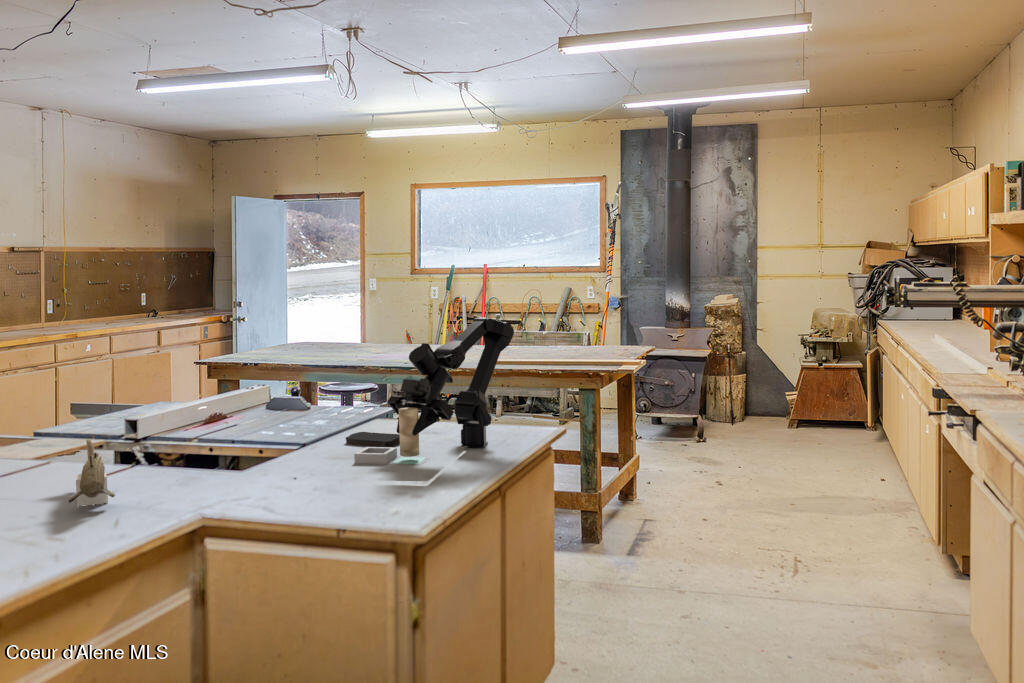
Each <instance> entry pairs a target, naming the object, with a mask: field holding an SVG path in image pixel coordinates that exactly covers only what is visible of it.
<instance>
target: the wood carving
mask: <svg viewBox="0 0 1024 683" xmlns="http://www.w3.org/2000/svg"><path fill="white" fill-rule="evenodd" d="M85 440H86V441H85V442H86V450H87V451H86V452H87V461H86V462H85V463H84V464H83V466H82V469H81V470H82V471H81V473H80V474H75V489H76V494H75V495H73V496H72V497H71V498H69V499H68V502H69V503H72V502H74V501H75V500H76V506H83V505H93V504H101V505H104V504H103V503H108V504H109V498H108V497H111V498H115V496H116V494H115V493H114V492H113V491H110V490H108V479H107V478H108V476H107V471H105V469H106V467H105V464H104V462H103V460H102V459H103V458H102V456H99V453H98V452H95V447H94V444H93V442H92V439H90V438H87V439H85ZM93 506H94V505H93Z"/></svg>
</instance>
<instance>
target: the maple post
mask: <svg viewBox="0 0 1024 683" xmlns="http://www.w3.org/2000/svg"><path fill="white" fill-rule="evenodd" d="M398 418H399V435H400V445H399V454H400V455H399V457H418V456H419V455H420V433H418V434H417V435H415V436H414V435H413V434H412V432H413V429H414V427H415V425H416V423H417V421H418V419H419V411H418V408H414V407H408V408H400V409H399V415H398Z"/></svg>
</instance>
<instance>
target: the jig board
mask: <svg viewBox="0 0 1024 683" xmlns="http://www.w3.org/2000/svg"><path fill="white" fill-rule="evenodd" d="M353 458H354V463H353V464H354V465H391V466H393V465H395V466H422V465H423V464H425V463H426V462H427V461H428V460H430V459H431V456H411V457H404V456H398V447H395V446H393V447H370V446H364V448H362V449H360V450H357V452H356V451H355V453H354V454H353Z"/></svg>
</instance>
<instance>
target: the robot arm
mask: <svg viewBox="0 0 1024 683" xmlns="http://www.w3.org/2000/svg"><path fill="white" fill-rule="evenodd" d="M514 334H515V328H514V327H513V326H512V324H511V323H510V322H509V321H499V320H494V319H492V318H490V317H476V318H474V319H473V321H472V323H471V324H469V326H467V327H466V328H465V329H464V330H463V331H462V332H461V333H460V334H459V335H458V336H457V337H456V338H454V340H452V341H449V342H446V343H443V344H442V345H440V346H439V347H436V349H435V350H433V349H432V347H431V345H430V344H429V343H428V342H427V343H426V342H424V343H423V342H422V343H421V345H420V346H417V347H415V348H414V349H413V350H412V351H411V352H410V353H409V355H408V360H409V361H410V363H411V364H412V365H413V367H414V368H415V370H416V371H417V372H418V373H419V374H420V375H422V376H424V378H420V379H419V380H418V379H410V378H409V379H408V378H403V379H402V383H401V386H400V392H401V393H402V392H403V393H406V394H408V395H407V397H408V398H409V400H411V401H408V400H407V399H406V397H405V396H403V395H394V394H393V395H390V397H389V398H388V400H387V402H386V403H387V404H388V405H389V407H390V408H392V410H393V412H395V413H396V414H397V415H398V416H399V409H400V408H408V407H414V408H418V412H420V414H419V416H418V421H417V423H416V425H415V427H414V429H413V432H412V434H413V435H414V436H415V435H417V434H418V433H419V434H420V433H421V432H423V431H424V430H425V429H427V428H429V427H430V426H432V425H434V424H435V423H439V422H440V421H441V420H443V421H450V420H452V417H453V415H455V417H456V422H457V424H458V425H462V429H461V430H460V445H461V447H467V448H484V447H485V446H487V445H488V443H489V441H487V427H488V426H490V425H491V423H492V419H493V418H492V415H491V414H490V413H489V411H488V410H487V406H488V404H487V400H486V399H487V398H486V392H487V390H488V387H489V384H490V382H491V379H492V376H493V373H494V370H495V369H496V365H497V363H498V359H499V358H500V354H501V352H503V351H504V350H506V348H507V347H508V346H510V344H511V341H512V339H513V338H514ZM480 339H483V343H484V348H483V350H482V353H481V356H480V357H479V360H478V363H477V366H476V368H475V371H474V374H473V376H472V379H471V382H470V384H469V387H468V389H467V390H465V391H464V390H461V391H459V393H458V395H457V399H456V401H455V402H454V404H455V405H454V410H453V409H452V407H451V406H450V405H449V403H448V402H447V401H446V400H445V399H442V397H443V395H442V394H441V392H442V391H443V389H444V387H445V385H446V384H453V383H454V379H453V377H452V373H451V372H448V369H449V370H457V369H459V368H460V367H461V365H462V364H463V362H464V361H465V360H466V354H467V352H468V351H469V350H470V349H472V348H473V346H474V345H476V344H477V342H479V340H480ZM454 413H455V414H454ZM397 418H398V420H397V426H396V434H399V417H397Z"/></svg>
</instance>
